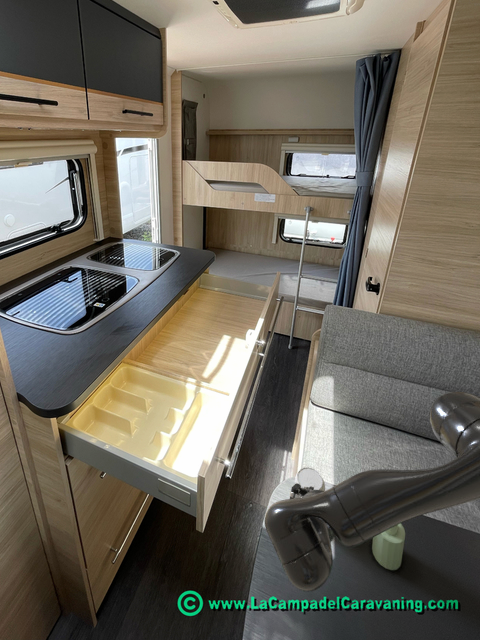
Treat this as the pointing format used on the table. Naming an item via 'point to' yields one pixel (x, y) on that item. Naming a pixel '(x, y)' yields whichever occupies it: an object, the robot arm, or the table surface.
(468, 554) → the table surface
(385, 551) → the green bottle
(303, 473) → the supplement can
